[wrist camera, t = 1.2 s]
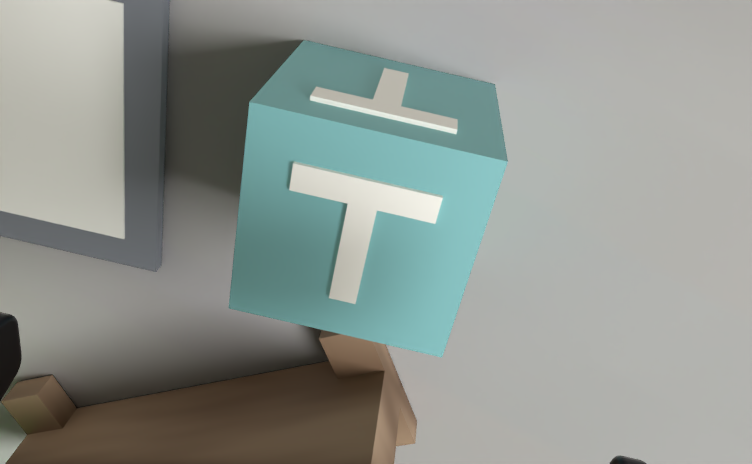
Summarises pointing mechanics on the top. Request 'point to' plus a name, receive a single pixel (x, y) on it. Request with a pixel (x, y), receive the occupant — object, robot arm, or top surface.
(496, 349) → the top surface
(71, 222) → the pad
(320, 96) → the letter cube
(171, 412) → the brown wooden block
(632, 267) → the top surface
